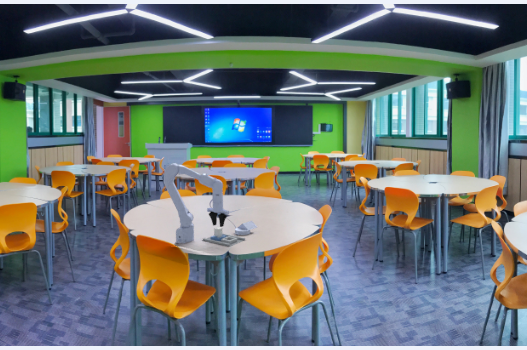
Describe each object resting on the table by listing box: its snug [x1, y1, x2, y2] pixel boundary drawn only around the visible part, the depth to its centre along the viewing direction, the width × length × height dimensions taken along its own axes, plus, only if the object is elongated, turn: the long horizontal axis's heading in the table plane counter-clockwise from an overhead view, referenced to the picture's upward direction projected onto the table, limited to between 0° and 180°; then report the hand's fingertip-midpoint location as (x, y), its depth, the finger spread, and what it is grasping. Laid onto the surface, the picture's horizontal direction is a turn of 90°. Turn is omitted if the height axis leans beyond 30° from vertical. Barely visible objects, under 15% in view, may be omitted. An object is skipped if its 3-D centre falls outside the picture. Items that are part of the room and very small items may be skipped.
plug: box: [213, 226, 223, 238], centre depth 192 cm, size 3×3×6 cm
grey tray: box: [202, 232, 246, 248], centre depth 190 cm, size 14×20×3 cm
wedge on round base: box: [234, 220, 258, 236], centre depth 205 cm, size 9×7×13 cm
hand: (218, 225), depth 191 cm, fingers open, 5 cm apart
